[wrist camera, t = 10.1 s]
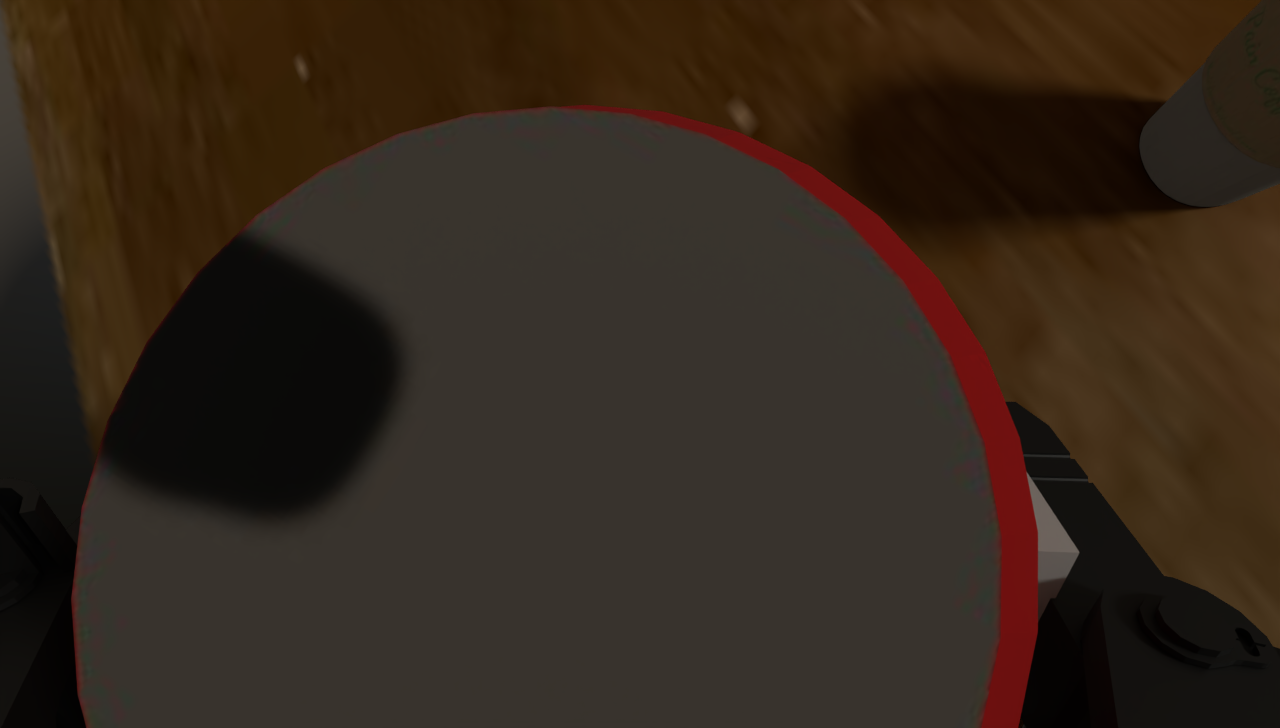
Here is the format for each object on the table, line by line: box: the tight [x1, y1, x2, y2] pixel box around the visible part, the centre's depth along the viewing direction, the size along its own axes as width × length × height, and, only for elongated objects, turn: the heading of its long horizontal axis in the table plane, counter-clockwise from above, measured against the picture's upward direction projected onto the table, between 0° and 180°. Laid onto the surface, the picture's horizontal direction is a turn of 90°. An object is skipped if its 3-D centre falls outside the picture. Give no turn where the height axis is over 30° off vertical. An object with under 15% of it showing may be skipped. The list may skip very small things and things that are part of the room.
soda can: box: [71, 105, 1038, 728], centre depth 10 cm, size 8×8×12 cm
